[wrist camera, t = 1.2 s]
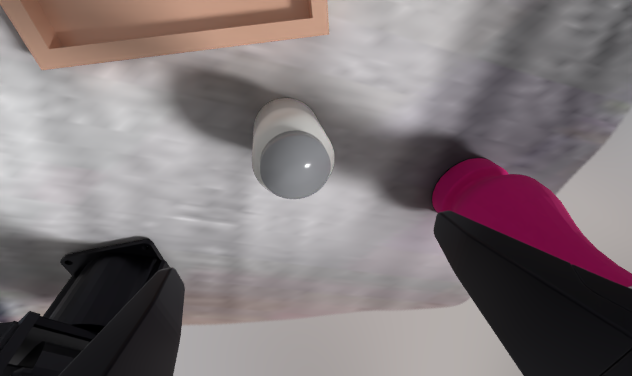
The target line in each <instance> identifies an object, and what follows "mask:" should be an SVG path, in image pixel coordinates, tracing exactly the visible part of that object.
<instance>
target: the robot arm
mask: <svg viewBox="0 0 632 376" xmlns="http://www.w3.org/2000/svg"><path fill="white" fill-rule="evenodd" d="M434 235H435V237H436V239H437V241H438V243H439V245H440V247H441V248H442V250H443V252H444V254H445V256H446V258H447V260H448V262H449V263H450V265H451V267H452V269H453V271H454V272H455V274H456V276H457V277H458V279H459V280H460V282H461V283H462V285H463V286H464V288H465V289H466V291H467V292H468V294H469V295H470V297H471V298H472V299H473V301H474V302H475V304H476V305H477V307H478V308H479V310H480V311H481V313H482V314H483V316H484V317H485V319H486V320H487V322H488V323H489V325H490V326H491V328H492V329H493V331H494V332H495V334H496V335H497V337H498V338H499V340H500V341H501V343H502V344H503V346H504V347H505V349H506V350H507V352H508V353H509V355H510V356H511V358H512V359H513V360H514V362H515V363H516V365H517V366H518V368H519V369H520V371H521V372H522V374H523V375H524V376H632V289H631V288H628V287H626V286H623V285H621V284H618V283H616V282H613V281H611V280H608V279H606V278H604V277H601V276H599V275H597V274H594V273H592V272H590V271H587V270H585V269H583V268H580V267H578V266H576V265H574V264H572V265H571V264H570V263H569V262H567V261H564V260H562V259H560V258H558V257H555V256H553V255H551V254H548V253H546V252H544V251H542V250H539V249H537V248H535V247H532V246H530V245H528V244H526V243H523V242H521V241H519V240H516V239H514V238H512V237H510V236H507V235H505V234H503V233H500V232H498V231H496V230H494V229H491V228H489V227H487V226H484V225H482V224H480V223H478V222H475V221H473V220H471V219H469V218H466V217H464V216H462V215H459V214H457V213H455V212H453V211H443V212H439V213H438V214H437V216H436V221H435V225H434ZM146 246H148V247H146ZM61 264H62V265H63V266H64V267H65V268H66V269H67V270H68V271H69V272H70V274H71V275H72V277H71V278H70V279H69V281H68V282H67V284H66V285H65V286H64V288H63V289H62V291H61V292H60V293H59V295H58V296H57V297H56V299H55V300H54V302H53V303H52V304H51V306H50V307H49V309H48V310H47V311H46V313H45V314H44V316H43V317H42V316H40V314H38V313H35V312H31V311H29V312H28V313H27V314H26V315H25V316H24V317H23V318H22V319H21V320H20V321H19V322H16V321H13V322H8V323H0V376H173V373H174V367H175V363H176V357H177V352H178V347H179V342H180V336H181V326H182V315H183V303H184V292H185V287H184V283H183V281H182V280H181V278H180V276H179V275H178V273H177V271H176V270H175V269H174V268H170V267H169V265H168V264H167V262H166V261H165V260H164V259H163V257H162V256H161V254H160V253H159V251H158V249H157V248H156V246H155V245H154V243H153V242H152V241H150V240H140V241H134V242H129V243H124V244H119V245H113V246H108V247H103V248H98V249H93V250H87V251H82V252H77V253H72V254H67V255H65V256H64V257H63V258H62V259H61Z"/></svg>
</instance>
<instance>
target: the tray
mask: <svg viewBox="0 0 632 376" xmlns="http://www.w3.org/2000/svg"><path fill="white" fill-rule="evenodd" d="M0 5H1V6H2V8H3V9H4V11H5V13H6V14H7V16H8V17H9V19H10V21H11V22H12V24H13V25H14V27H15V28H16V30H17V32H18V33H19V35H20V36H21V38H22V40H23V41H24V43H25V44H26V46H27V48H28V49H29V51H30V52H31V54H32V55H33V57H34V59H35V60H36V62H37V63H38V65H39V67H40V68H41V70H48V69H56V68H64V67H72V66H80V65H88V64H96V63H104V62H112V61H120V60H128V59H136V58H144V57H152V56H160V55H168V54H176V53H184V52H192V51H200V50H208V49H216V48H224V47H232V46H240V45H248V44H256V43H264V42H272V41H280V40H288V39H296V38H304V37H312V36H320V35H328V34H329V23H328V5H327V0H0Z"/></svg>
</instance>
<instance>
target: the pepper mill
mask: <svg viewBox="0 0 632 376" xmlns="http://www.w3.org/2000/svg"><path fill="white" fill-rule="evenodd" d="M432 204H433V207H434V209H435V210H436V211H437V212H438V213H439V212H443V211H453V212H455V213H457V214H459V215H462V216H464V217H466V218H469V219H471V220H473V221H475V222H478V223H480V224H482V225H484V226H487V227H489V228H491V229H494V230H496V231H498V232H500V233H503V234H505V235H507V236H510V237H512V238H514V239H516V240H519V241H521V242H523V243H526V244H528V245H530V246H532V247H535V248H537V249H539V250H542V251H544V252H546V253H548V254H551V255H553V256H555V257H558V258H560V259H562V260H564V261H567V262H569V263H570V264H571V265H572V264H574V265H576V266H578V267H580V268H583V269H585V270H587V271H590V272H592V273H594V274H597V275H599V276H601V277H604V278H606V279H608V280H611V281H613V282H616V283H618V284H621V285H623V286H626V287H628V288H631V289H632V274H631V273H630V272H628V271H626V270H625V269H623V268H621V267H620V266H618V265H617V264H616V263H614V262H613V261H612V260H611V259H609V258H608V257H607V256H605V255H604V254H603V253H602V252H600V251H599V250H597V249H596V247H595V246H594V245H593V244H592V243H591V242H590V241H589V240H588V239H587V238H586V237H585V236H584V235H583V234H582V233H581V231H580V230H579V228H578V227H577V226H576V224H575V223H574V221H573V220H572V218H571V217H570V215H569V213H568V212H567V210H566V209H565V207H564V205H563V204H562V202H561V201H560V200H559V199H558V198H557V197H556V196H555V195H554V194H553V193H552V191H551V190H549V189H548V188H546V187H545V186H544V185H542V184H541V183H539V182H538V181H536V180H535V179H533V178H530V177H528V176H524V175H517V174H508V172H507V171H506V170H504V169H503V168H501V167H500V166H498V165H496V164H495V163H493V162H492V161H490V160H488V159H483V158H474V159H468V160H466V161H463V162H460V163H459V164H457V165H455V166H454V167H452V168H451V169H449V170H448V171H447V172H446V173H445V174H444V175H443V176H442V177H441V178H440V180H439V181H438V183H437V184H436V186H435V189H434V191H433V195H432Z"/></svg>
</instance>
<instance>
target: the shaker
mask: <svg viewBox="0 0 632 376" xmlns="http://www.w3.org/2000/svg"><path fill="white" fill-rule="evenodd" d="M334 161H335V155H334V150H333V146H332V144H331V142H330V140H329V139H328V137H327V135H326V133H325V132H324V130H323V128H322V127H321V125H320V123H319V121H318V120H317V118H316V116H315V115H314V113H313V111H312V110H311V109H310V108H309V107H308V106H307V105H306V104H304V103H303V102H301V101H299V100H296V99H292V98H280V99H276V100H273V101H271V102H269V103H268V104H266V105H265V106H264V107H263V108H262V109H261V110H260V111H259V113H258V114H257V116H256V119H255V122H254V129H253V152H252V166H253V171H254V174H255V176H256V178H257V180H258V181H259V182H260V184H261V185H262V186H263V187H265V188H266V189H267V190H269V191H270V192H272V193H274V194H275V195H277V196H279V197H282V198H287V199H300V198H305V197H308V196H310V195H312V194H314V193H316V192H317V191H318V190H320V189H321V188H322V187H323V185H324V184H325V183H326V181H327V179H328V178H329V176H330V174H331V172H332V170H333V166H334Z"/></svg>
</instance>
